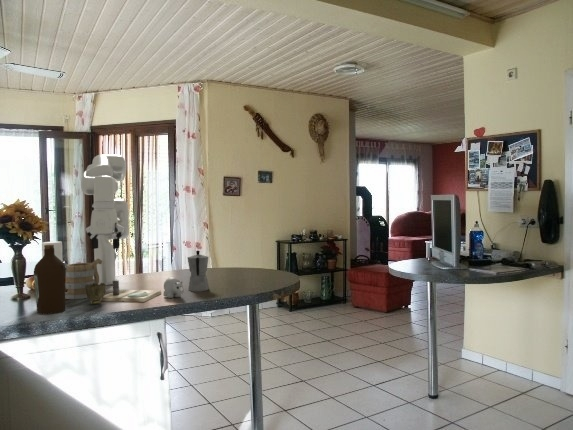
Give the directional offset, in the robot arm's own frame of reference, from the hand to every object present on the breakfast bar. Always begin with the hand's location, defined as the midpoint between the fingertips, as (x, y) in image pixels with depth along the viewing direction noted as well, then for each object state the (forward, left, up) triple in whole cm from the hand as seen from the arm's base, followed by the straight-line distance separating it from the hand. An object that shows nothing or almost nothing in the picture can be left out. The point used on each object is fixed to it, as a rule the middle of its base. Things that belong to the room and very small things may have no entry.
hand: (105, 248), depth 181 cm
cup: (-3, -4, -22) cm, 22 cm away
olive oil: (-13, -17, -22) cm, 31 cm away
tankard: (-18, +13, -22) cm, 31 cm away
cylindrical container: (-20, -6, -22) cm, 30 cm away
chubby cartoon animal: (+25, +9, -22) cm, 35 cm away
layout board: (+5, +9, -22) cm, 24 cm away
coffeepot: (+29, +26, -22) cm, 45 cm away
